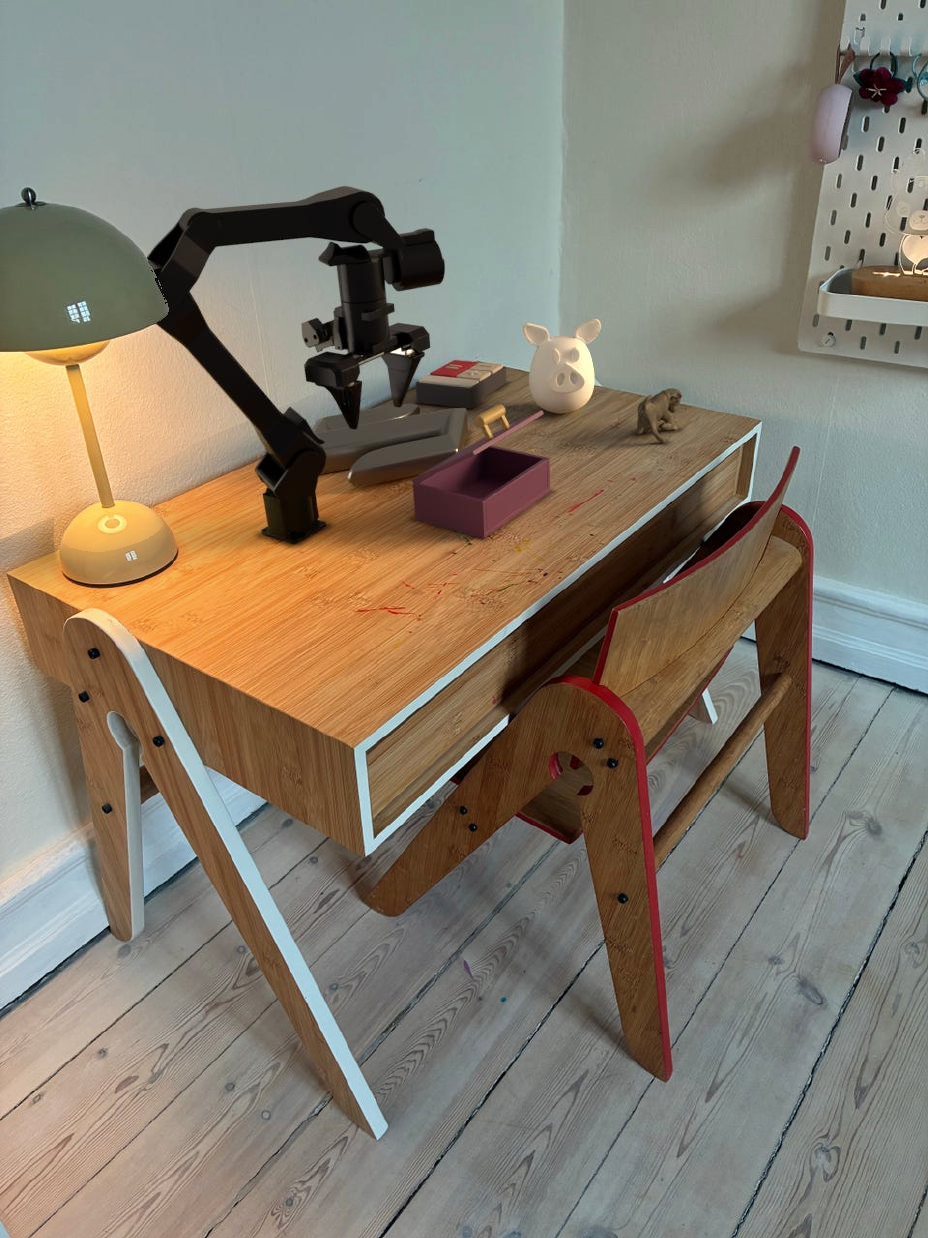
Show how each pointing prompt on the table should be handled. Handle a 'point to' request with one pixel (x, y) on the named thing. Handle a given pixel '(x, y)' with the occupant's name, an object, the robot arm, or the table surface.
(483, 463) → the maroon open box
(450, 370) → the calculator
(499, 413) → the file box lid
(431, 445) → the emblem
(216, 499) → the table surface
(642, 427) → the brown monkey figurine
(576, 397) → the piggy bank
